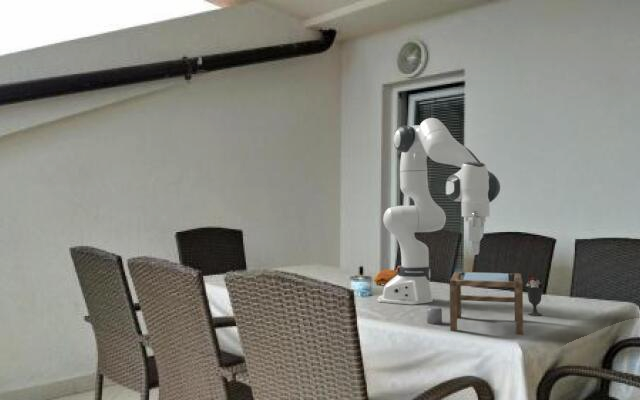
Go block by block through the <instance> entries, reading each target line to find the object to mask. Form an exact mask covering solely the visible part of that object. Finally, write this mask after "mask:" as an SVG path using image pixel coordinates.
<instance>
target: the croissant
mask: <svg viewBox="0 0 640 400" xmlns="http://www.w3.org/2000/svg"><path fill="white" fill-rule="evenodd" d="M397 275H398V274H397V269H382V270H381V271H379V273H376V275H375V276H374V283H375V282H376V283H375V284H384V285H386V284H387V283H388V282H389V281H390V280H391V279H393V278H394V277H395V276H397ZM384 285H383V286H384Z"/></svg>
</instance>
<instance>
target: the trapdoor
mask: <svg viewBox="0 0 640 400" xmlns="http://www.w3.org/2000/svg"><path fill="white" fill-rule="evenodd" d="M509 277H510V276H509V273H504V272H478V271H477V272H476V271H473V272H467V271H466V272H464V275H463V279H462V280H478V281H510V279H509Z"/></svg>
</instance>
